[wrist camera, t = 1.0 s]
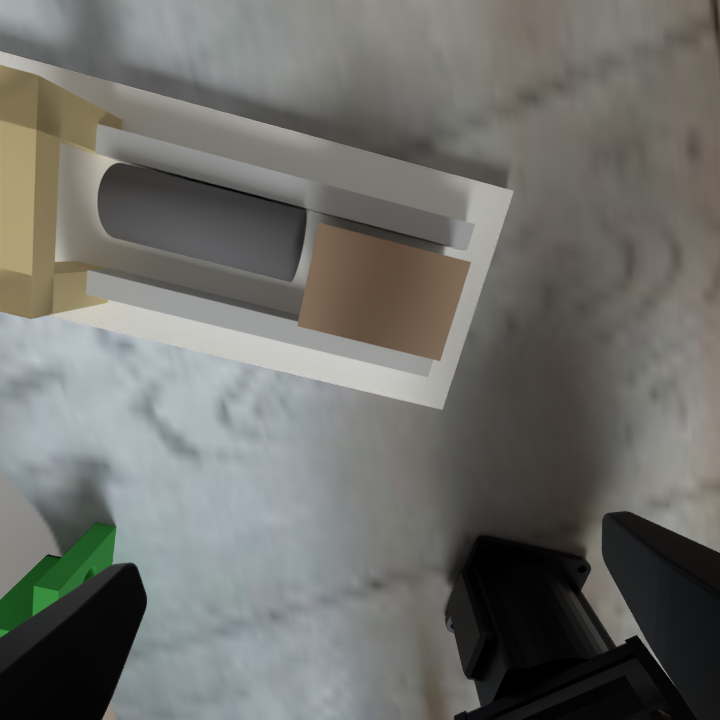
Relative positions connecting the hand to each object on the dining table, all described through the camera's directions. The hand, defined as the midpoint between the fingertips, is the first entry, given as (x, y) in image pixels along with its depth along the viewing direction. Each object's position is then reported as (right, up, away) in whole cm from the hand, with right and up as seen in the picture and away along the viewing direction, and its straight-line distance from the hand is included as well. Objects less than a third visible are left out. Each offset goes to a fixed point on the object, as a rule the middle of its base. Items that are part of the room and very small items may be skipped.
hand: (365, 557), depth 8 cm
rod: (-6, +9, +9) cm, 14 cm away
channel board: (-6, +9, +11) cm, 15 cm away
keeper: (+1, +7, +10) cm, 12 cm away
